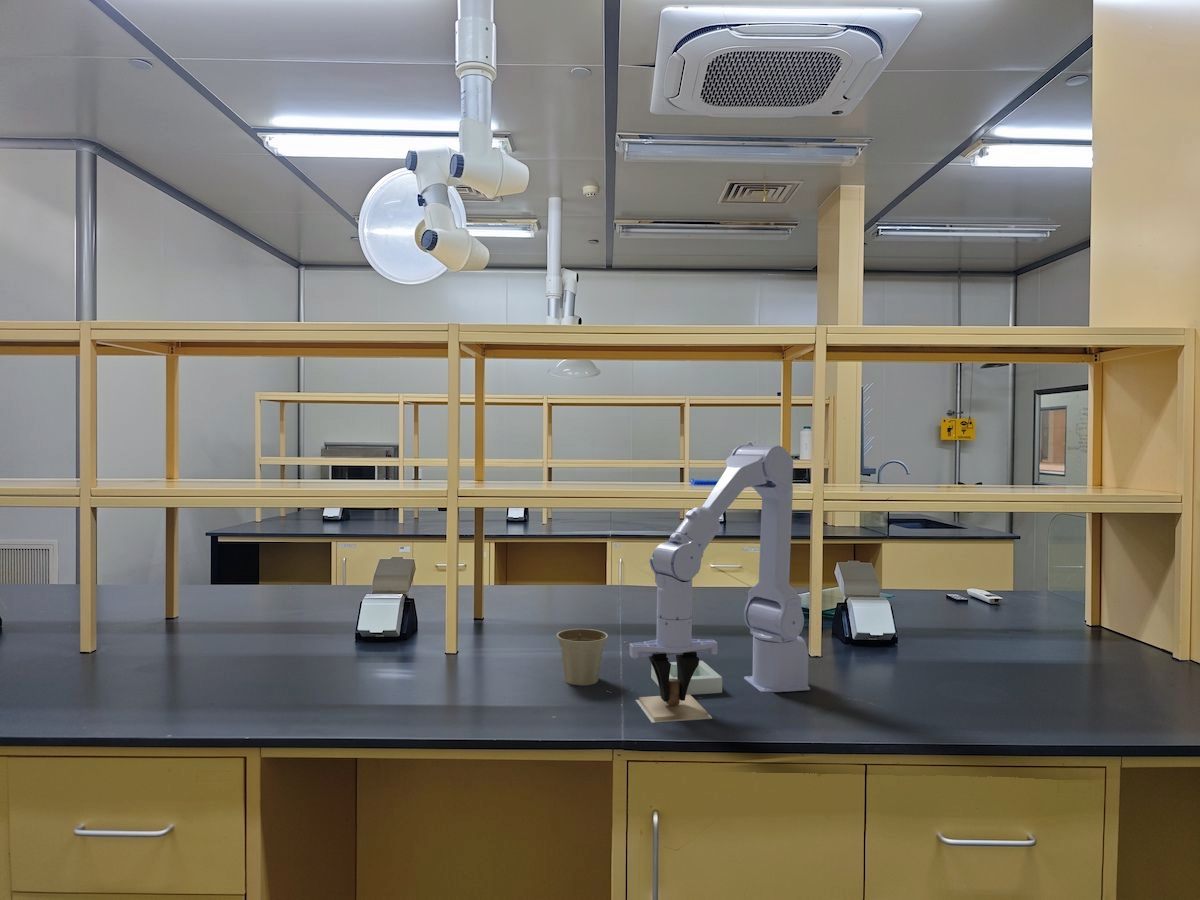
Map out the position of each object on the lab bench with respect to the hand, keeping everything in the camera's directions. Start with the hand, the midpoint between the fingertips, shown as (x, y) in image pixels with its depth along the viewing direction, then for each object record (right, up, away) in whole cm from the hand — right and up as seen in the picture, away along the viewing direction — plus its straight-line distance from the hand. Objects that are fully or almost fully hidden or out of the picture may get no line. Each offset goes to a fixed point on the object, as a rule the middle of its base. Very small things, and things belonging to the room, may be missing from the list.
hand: (672, 699), depth 116 cm
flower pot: (-15, -2, +14) cm, 21 cm away
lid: (0, -2, 0) cm, 2 cm away
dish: (+4, -2, +12) cm, 13 cm away
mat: (0, -2, 0) cm, 2 cm away
